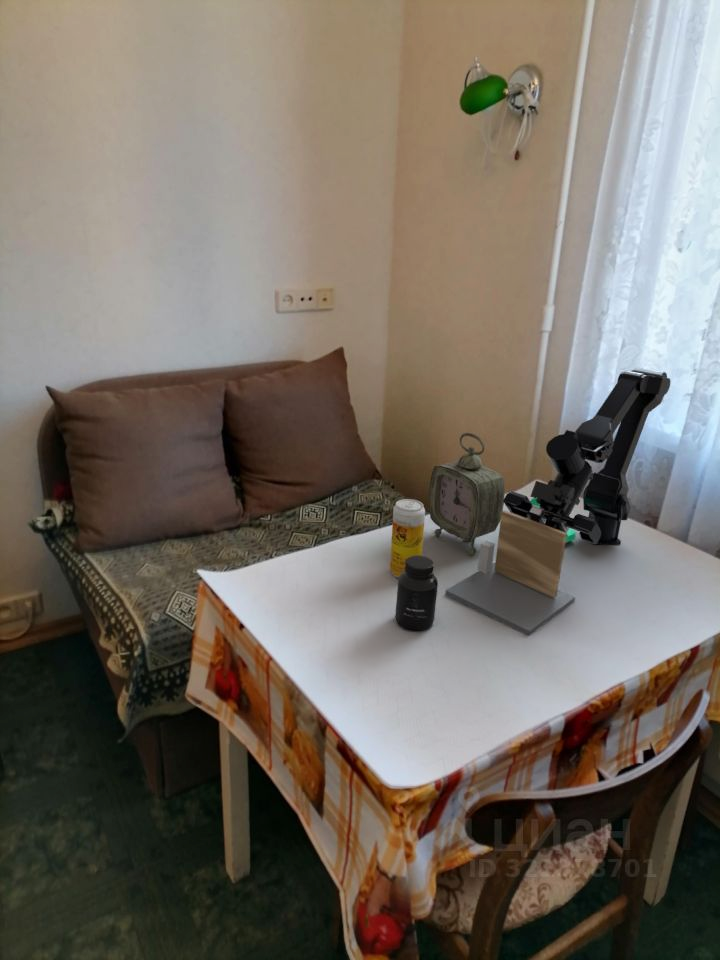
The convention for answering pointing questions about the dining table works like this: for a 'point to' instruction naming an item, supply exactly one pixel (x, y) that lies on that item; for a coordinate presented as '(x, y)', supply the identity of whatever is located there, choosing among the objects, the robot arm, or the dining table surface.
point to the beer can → (406, 533)
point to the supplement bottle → (416, 595)
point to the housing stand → (507, 596)
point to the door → (530, 553)
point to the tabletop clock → (466, 496)
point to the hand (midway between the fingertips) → (530, 554)
